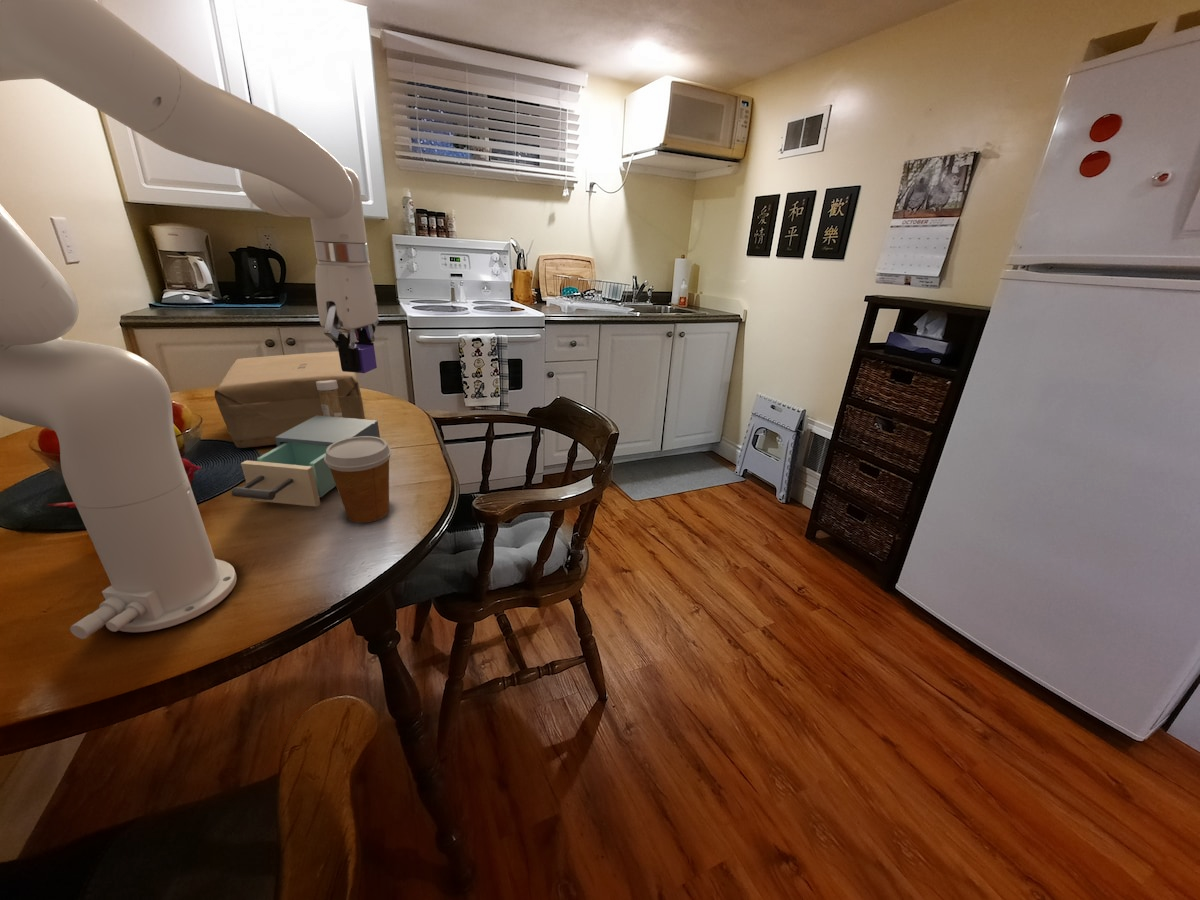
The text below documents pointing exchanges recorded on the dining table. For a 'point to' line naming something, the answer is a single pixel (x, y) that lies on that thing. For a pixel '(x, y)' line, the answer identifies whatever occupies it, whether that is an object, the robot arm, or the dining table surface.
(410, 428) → the dining table surface
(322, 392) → the sprinkles bottle
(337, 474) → the disposable coffee cup
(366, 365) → the cube
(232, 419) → the paper package
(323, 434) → the drawer cabinet
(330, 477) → the drawer
